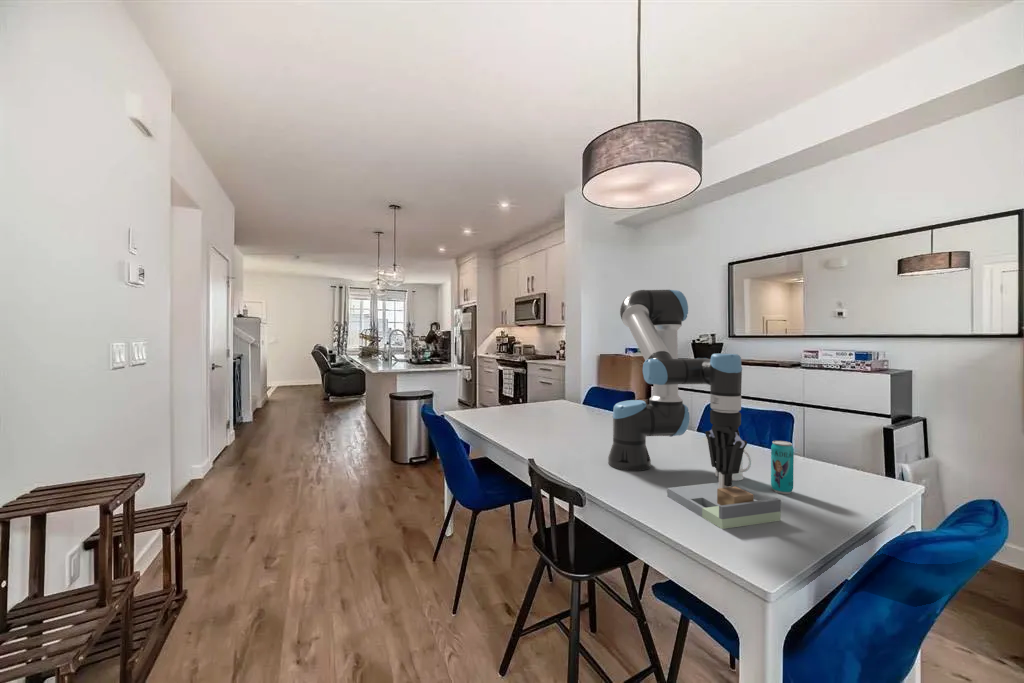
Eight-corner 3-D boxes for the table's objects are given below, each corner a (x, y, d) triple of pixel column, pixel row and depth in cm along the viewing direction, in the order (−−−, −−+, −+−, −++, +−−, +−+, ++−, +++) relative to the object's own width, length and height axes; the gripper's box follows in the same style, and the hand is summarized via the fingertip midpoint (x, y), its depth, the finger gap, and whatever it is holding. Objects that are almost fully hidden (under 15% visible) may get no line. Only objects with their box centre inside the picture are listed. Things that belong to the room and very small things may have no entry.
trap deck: (667, 495, 124) (667, 477, 124) (718, 490, 129) (718, 472, 129) (721, 529, 103) (722, 507, 103) (780, 520, 108) (780, 499, 108)
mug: (758, 481, 136) (758, 445, 136) (739, 485, 133) (739, 448, 133) (727, 471, 147) (727, 437, 147) (709, 474, 144) (709, 439, 144)
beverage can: (768, 491, 128) (769, 442, 127) (773, 486, 132) (773, 439, 132) (791, 496, 124) (791, 446, 124) (794, 491, 128) (795, 442, 128)
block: (717, 503, 113) (717, 488, 113) (735, 501, 114) (735, 486, 114) (734, 512, 107) (734, 496, 107) (753, 509, 109) (753, 494, 109)
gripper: (697, 406, 119) (696, 489, 120) (732, 415, 107) (731, 507, 107) (719, 405, 121) (718, 486, 122) (756, 414, 109) (755, 504, 109)
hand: (724, 496), depth 114 cm, fingers closed
